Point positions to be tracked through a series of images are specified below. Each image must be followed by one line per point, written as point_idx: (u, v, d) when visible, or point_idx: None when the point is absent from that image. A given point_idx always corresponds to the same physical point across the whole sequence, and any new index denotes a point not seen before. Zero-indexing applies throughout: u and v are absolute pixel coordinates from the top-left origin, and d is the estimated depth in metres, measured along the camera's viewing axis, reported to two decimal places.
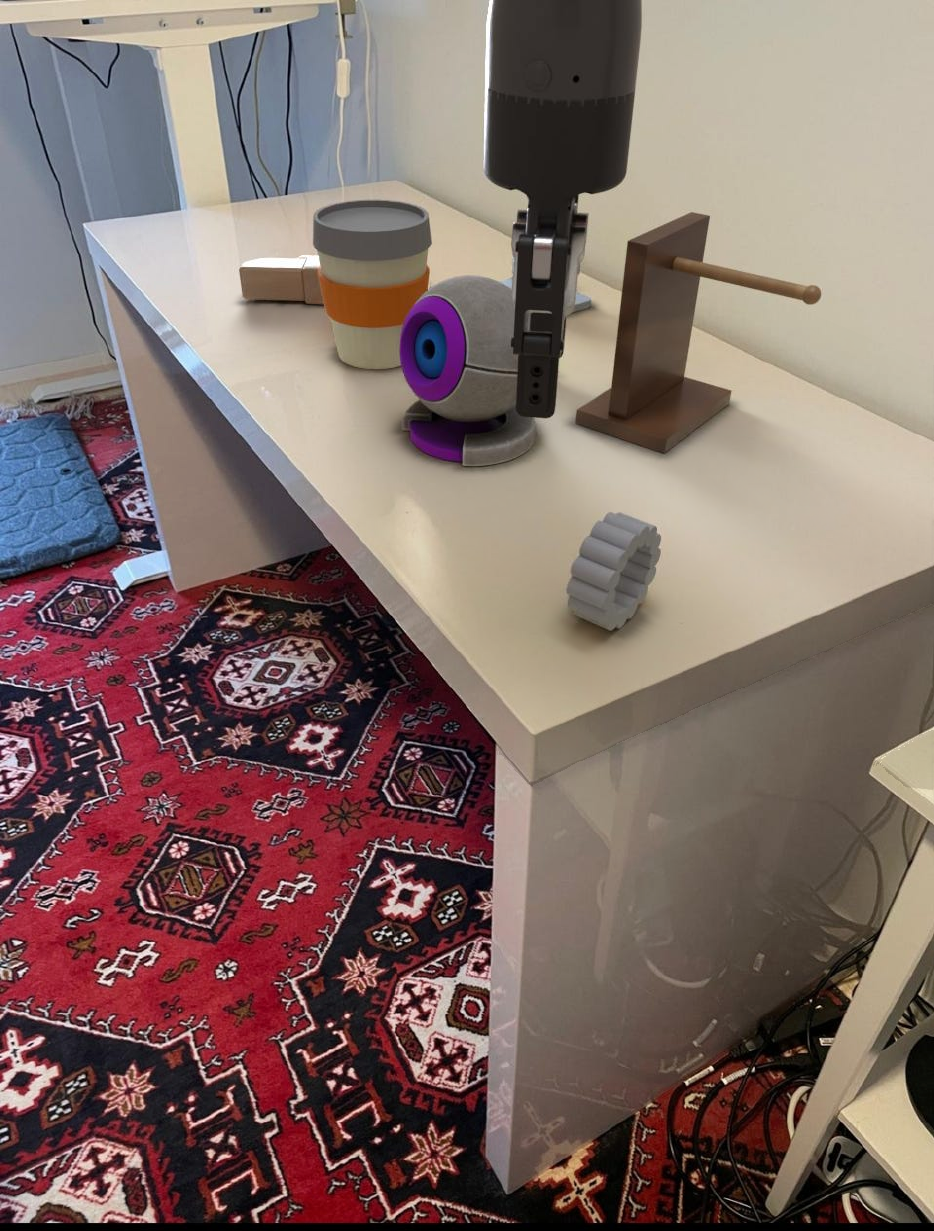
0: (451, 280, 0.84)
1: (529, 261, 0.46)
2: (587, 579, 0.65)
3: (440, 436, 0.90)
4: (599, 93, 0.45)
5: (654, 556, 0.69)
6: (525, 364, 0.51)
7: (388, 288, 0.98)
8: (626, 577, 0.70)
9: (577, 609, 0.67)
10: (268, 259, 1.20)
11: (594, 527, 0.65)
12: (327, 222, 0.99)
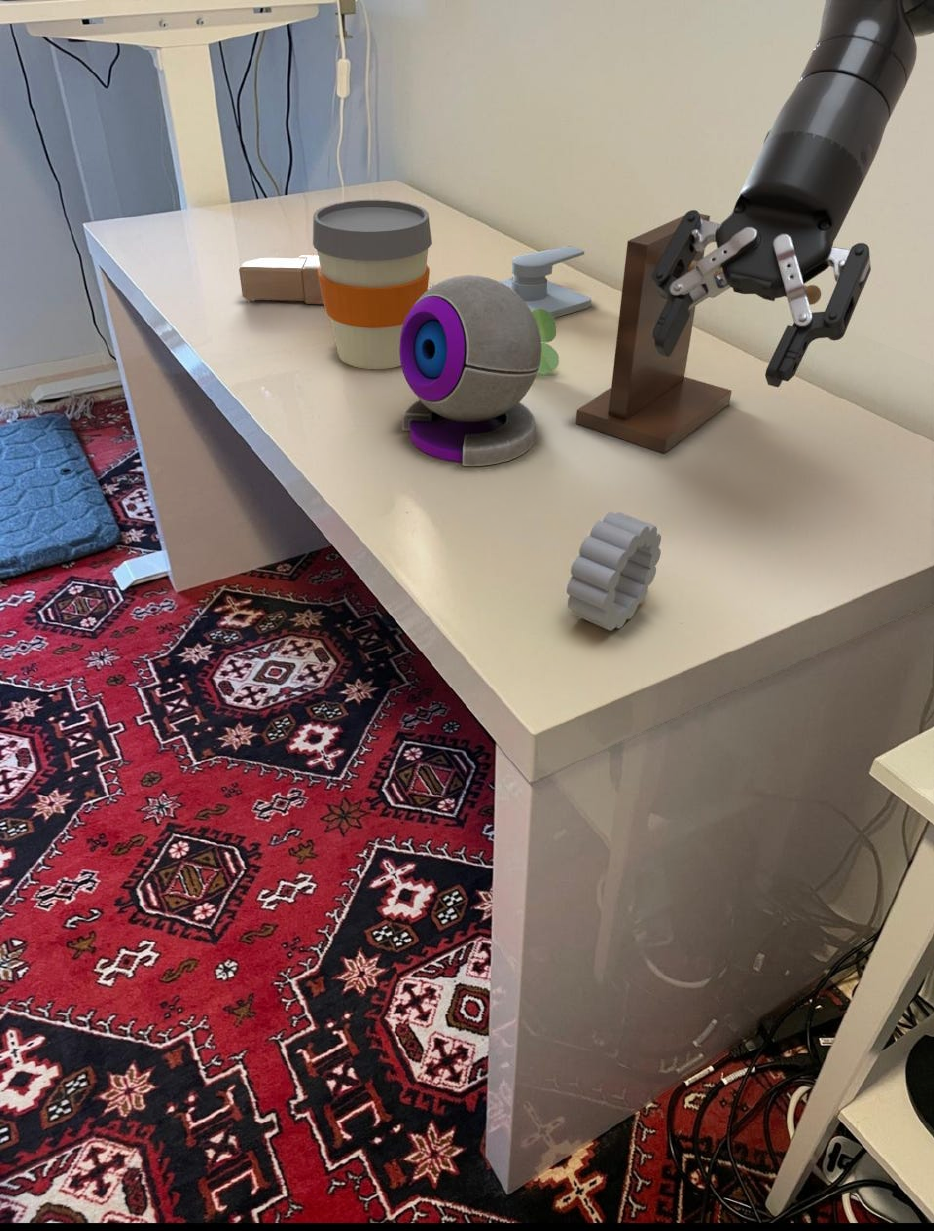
0: (451, 280, 0.84)
1: (866, 264, 0.64)
2: (587, 579, 0.65)
3: (440, 436, 0.90)
4: None
5: (654, 556, 0.69)
6: (806, 337, 0.65)
7: (388, 288, 0.98)
8: (626, 577, 0.70)
9: (577, 609, 0.67)
10: (268, 259, 1.20)
11: (594, 527, 0.65)
12: (327, 222, 0.99)
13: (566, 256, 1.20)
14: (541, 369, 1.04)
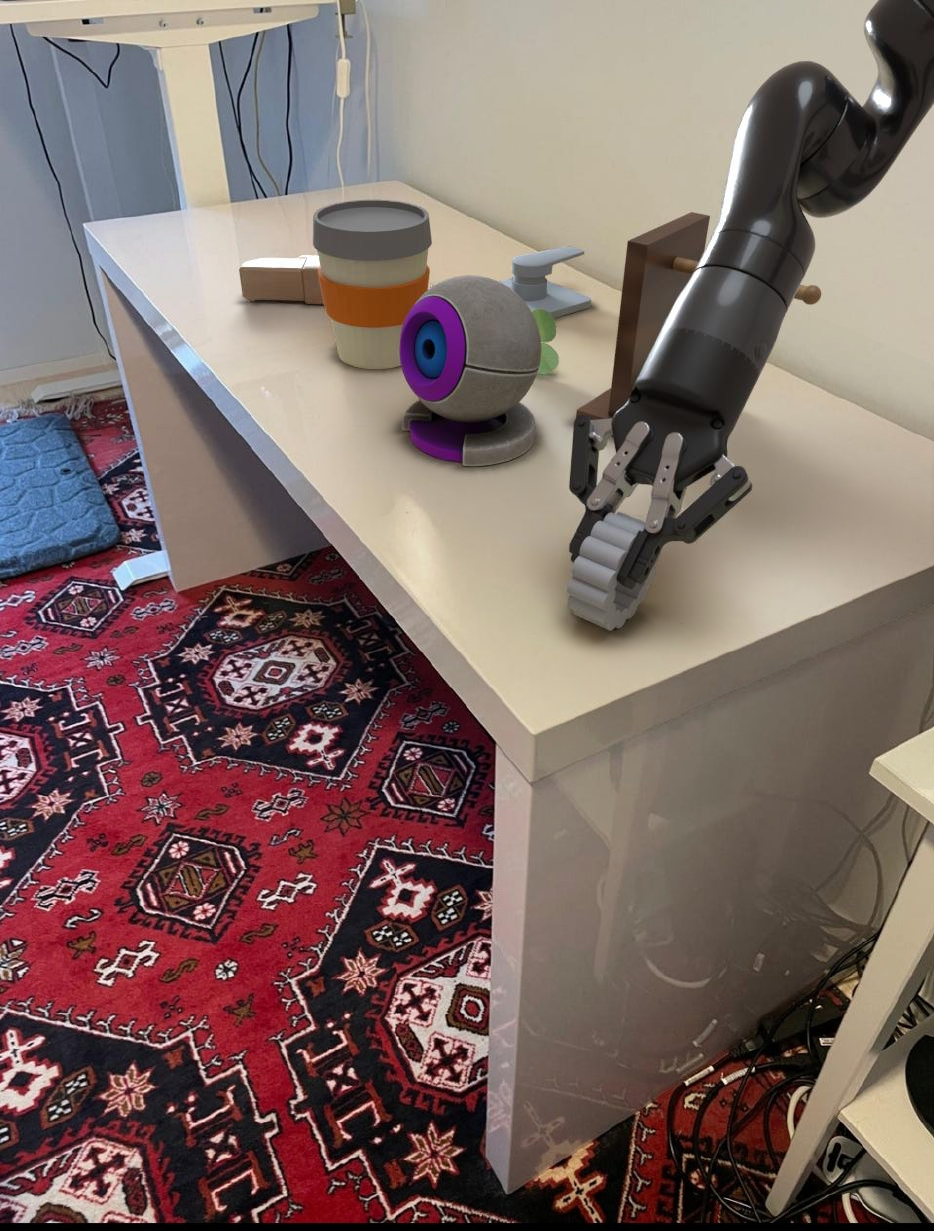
0: (451, 280, 0.84)
1: (738, 489, 0.63)
2: (587, 579, 0.65)
3: (440, 436, 0.90)
4: None
5: None
6: (656, 543, 0.64)
7: (388, 288, 0.98)
8: None
9: (577, 609, 0.67)
10: (268, 259, 1.20)
11: (594, 527, 0.65)
12: (327, 222, 0.99)
13: (566, 256, 1.20)
14: (541, 369, 1.04)
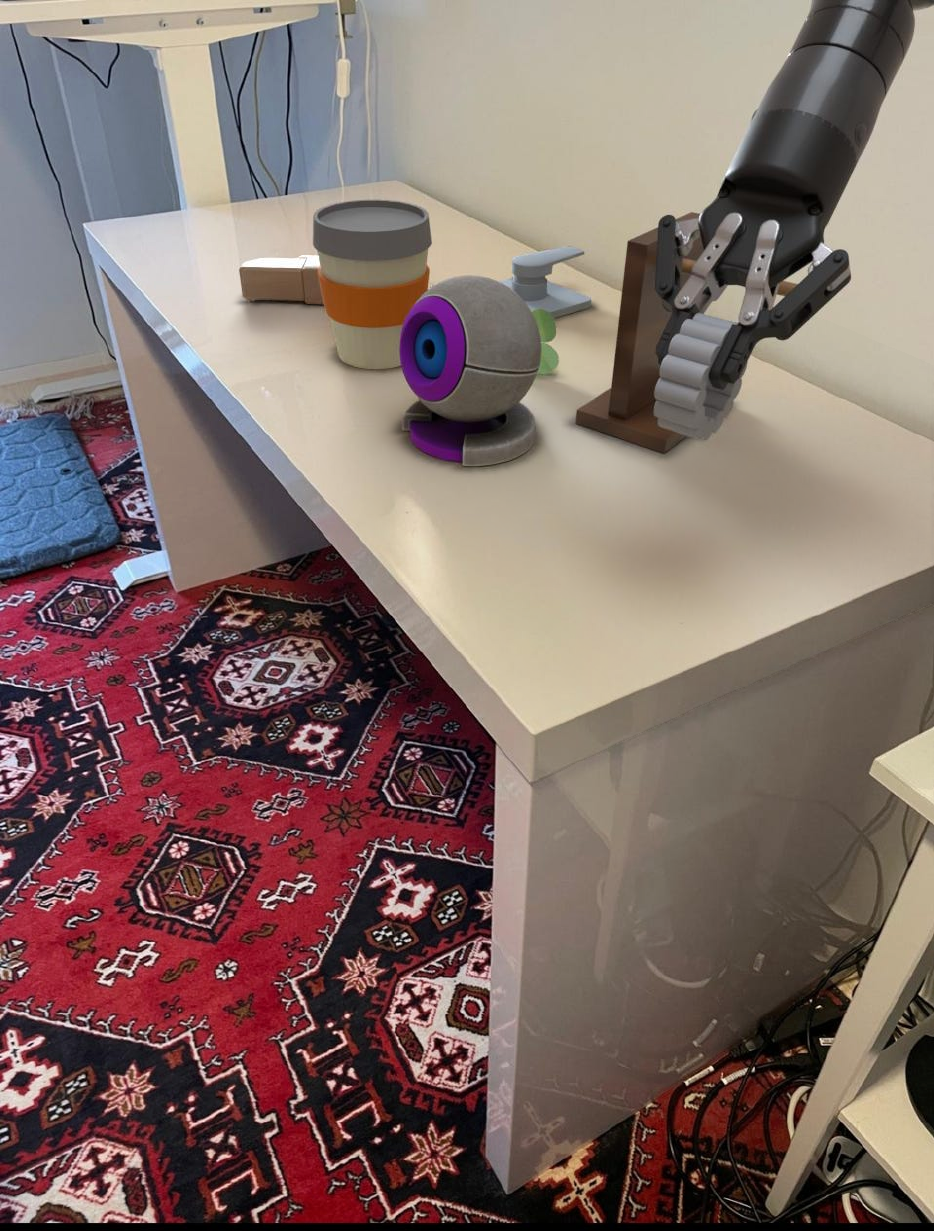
0: (451, 280, 0.84)
1: (839, 274, 0.60)
2: (677, 377, 0.62)
3: (440, 436, 0.90)
4: None
5: None
6: (751, 336, 0.61)
7: (388, 288, 0.98)
8: (710, 390, 0.67)
9: (664, 414, 0.64)
10: (268, 259, 1.20)
11: (684, 324, 0.62)
12: (327, 222, 0.99)
13: (566, 256, 1.20)
14: (541, 369, 1.04)
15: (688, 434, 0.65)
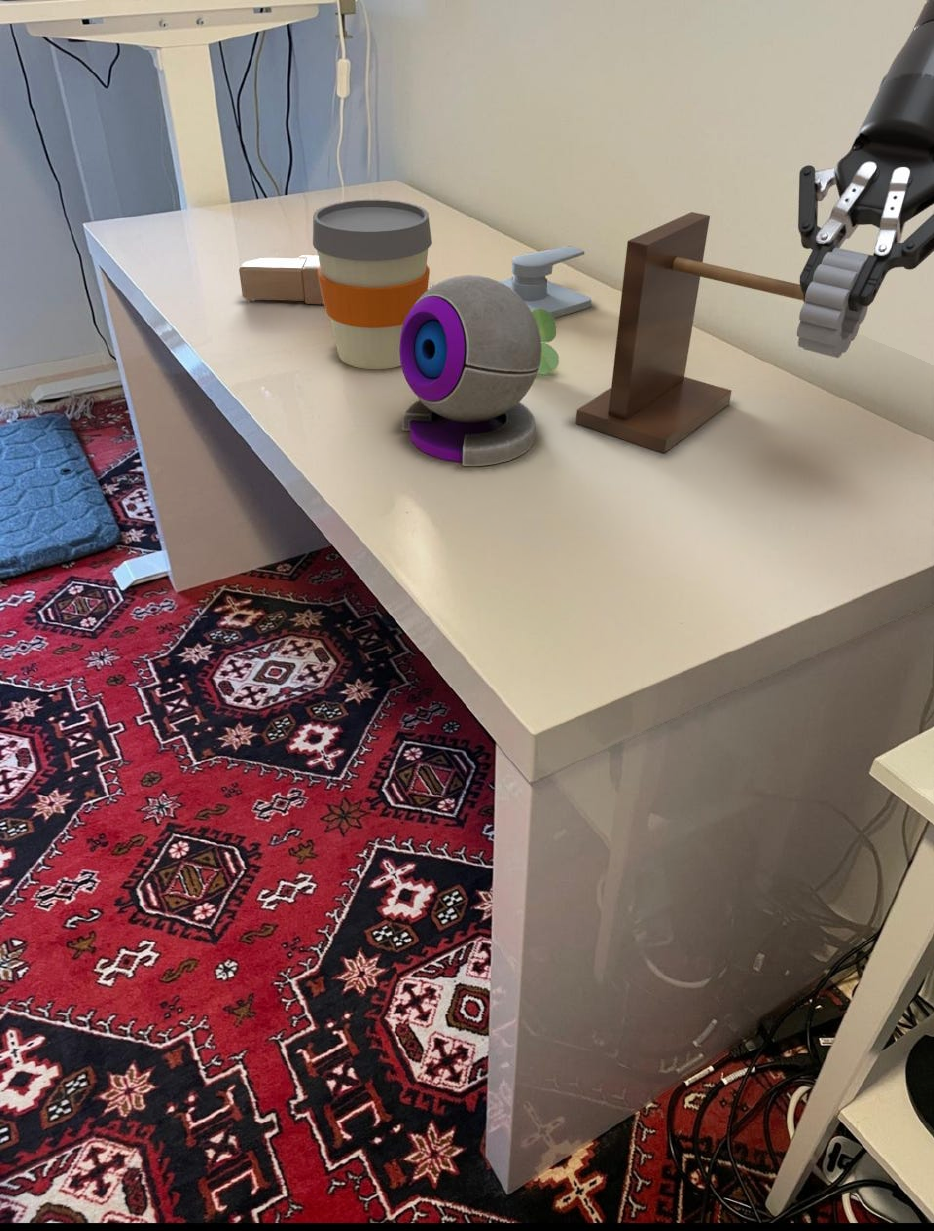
0: (451, 280, 0.84)
1: None
2: (822, 300, 0.73)
3: (440, 436, 0.90)
4: None
5: None
6: (885, 265, 0.73)
7: (388, 288, 0.98)
8: None
9: (806, 334, 0.75)
10: (268, 259, 1.20)
11: (826, 256, 0.74)
12: (327, 222, 0.99)
13: (566, 256, 1.20)
14: (541, 369, 1.04)
15: (825, 351, 0.76)
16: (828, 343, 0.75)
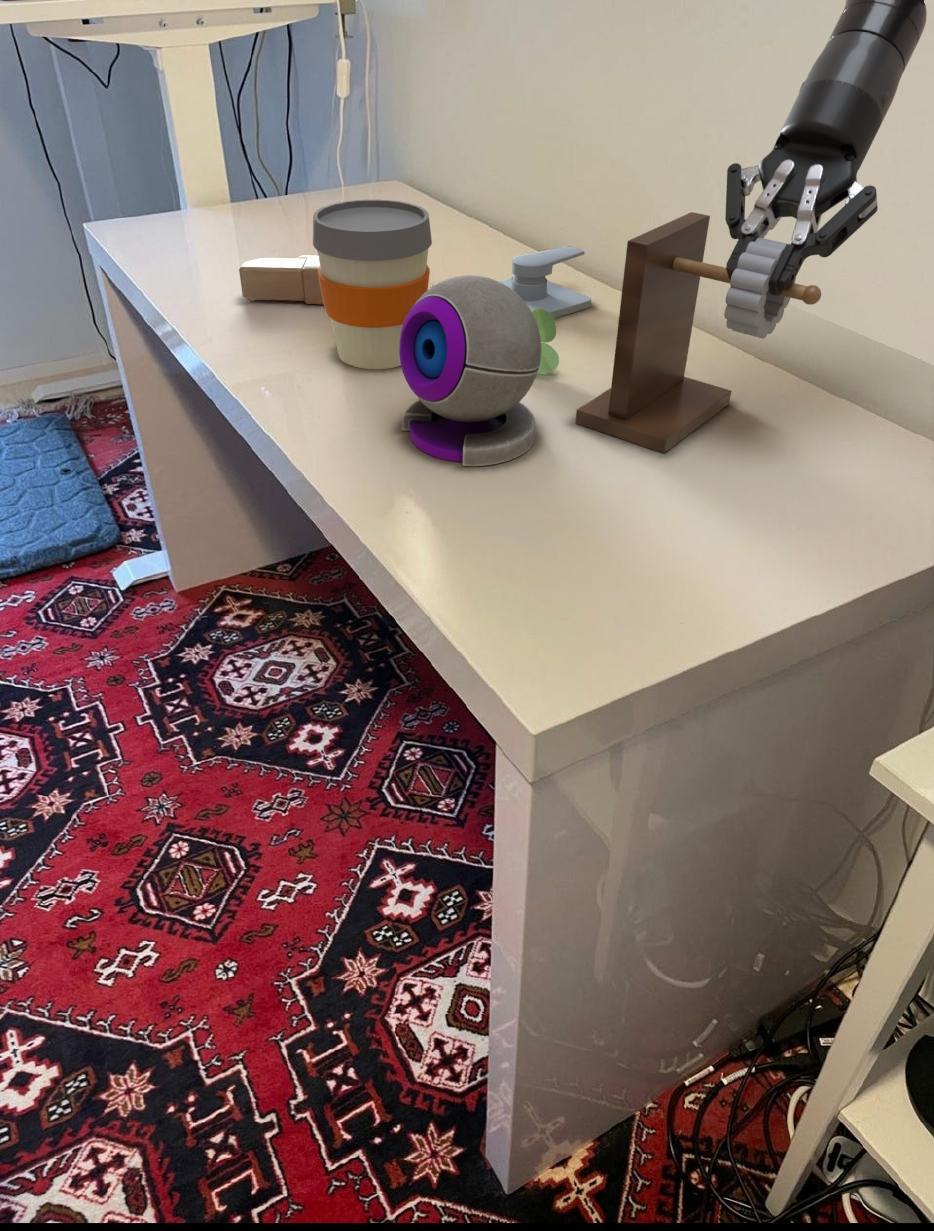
0: (451, 280, 0.84)
1: (869, 204, 0.79)
2: (744, 284, 0.81)
3: (440, 436, 0.90)
4: None
5: None
6: (801, 253, 0.80)
7: (388, 288, 0.98)
8: (766, 301, 0.86)
9: (733, 316, 0.83)
10: (268, 259, 1.20)
11: (749, 245, 0.82)
12: (327, 222, 0.99)
13: (566, 256, 1.20)
14: (541, 369, 1.04)
15: (751, 332, 0.84)
16: (752, 324, 0.82)
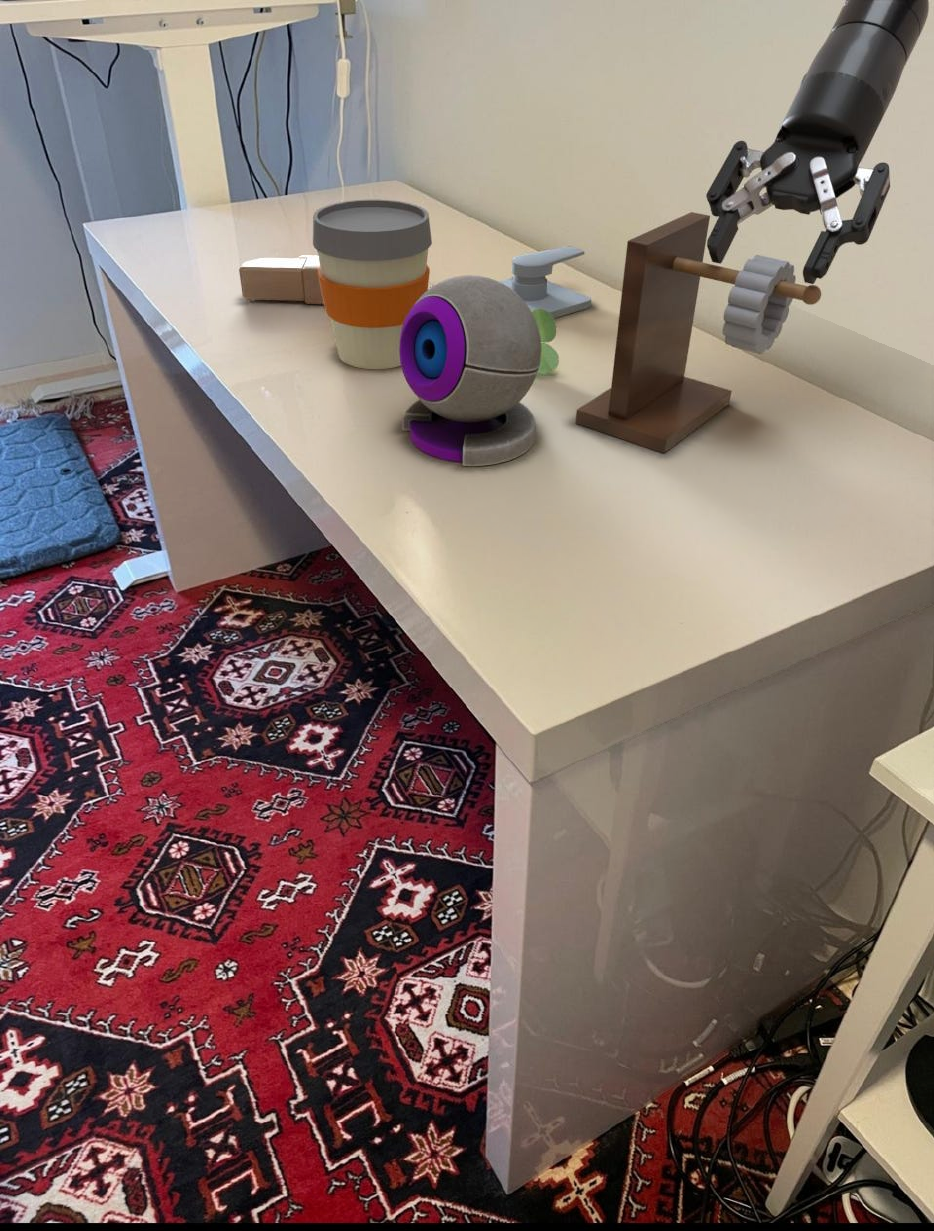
0: (451, 280, 0.84)
1: (886, 180, 0.78)
2: (742, 302, 0.82)
3: (440, 436, 0.90)
4: None
5: None
6: (836, 240, 0.79)
7: (388, 288, 0.98)
8: (765, 316, 0.87)
9: (731, 333, 0.84)
10: (268, 259, 1.20)
11: (746, 263, 0.82)
12: (327, 222, 0.99)
13: (566, 256, 1.20)
14: (541, 369, 1.04)
15: (749, 348, 0.85)
16: (750, 341, 0.83)
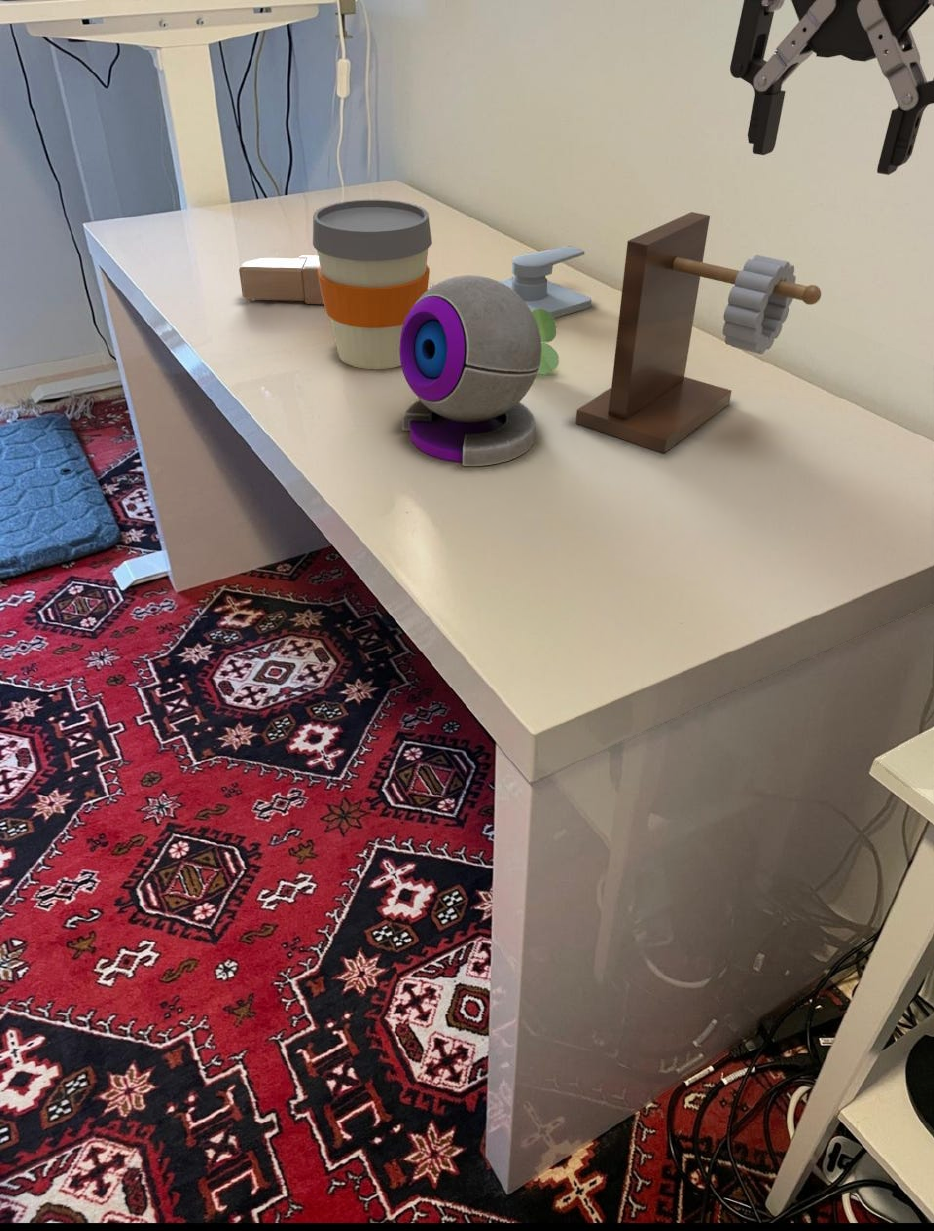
0: (451, 280, 0.84)
1: None
2: (742, 302, 0.82)
3: (440, 436, 0.90)
4: None
5: None
6: (915, 117, 0.59)
7: (388, 288, 0.98)
8: (765, 317, 0.87)
9: (731, 333, 0.84)
10: (268, 259, 1.20)
11: (746, 263, 0.82)
12: (327, 222, 0.99)
13: (566, 256, 1.20)
14: (541, 369, 1.04)
15: (749, 348, 0.85)
16: (750, 341, 0.83)
